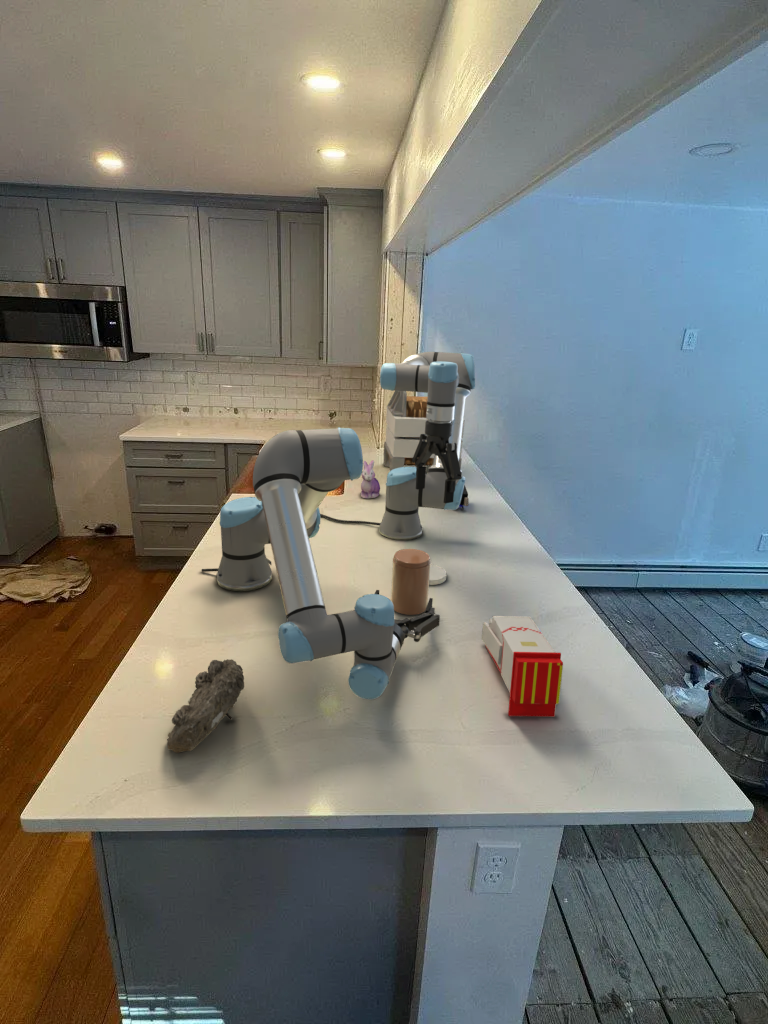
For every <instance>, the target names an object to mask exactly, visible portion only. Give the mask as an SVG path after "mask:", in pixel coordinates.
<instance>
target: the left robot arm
mask: <svg viewBox="0 0 768 1024" xmlns="http://www.w3.org/2000/svg"><path fill="white" fill-rule="evenodd" d="M363 457H364V455H363V449H362V445H361V440H360V438H359V436H358V434H357V432H356V431H355V430H354V429H353V428H349V427H339V426H338V427H337V428H318V429H317V428H316V429H315V428H313V429H297V430H296V429H289V430H284V431H281V432H279V433H277V434H275V435H273V436H272V437H271V438H270V439H268V441H266V443H265V444H264V445H263V446H262V448H261V449H260V451H259V453H258V454H257V457H256V459H255V463H254V466H253V472H252V487H253V492H254V496H245V497H244V496H243V497H239V498H235V499H232V500H229V501H228V502H226V503H225V504H223V506H222V507H221V508H220V510H219V511H220V512H219V526H220V538H221V559H220V562H219V565H218V568H215V567H214V568H202V569H201V572H203V573H206V572H207V573H208V572H216V583H217V584H218V586H219V587H221V588H222V589H224V590H227V591H232V592H250V591H256V590H258V589H259V590H260V589H261V588H264V587H266V586H267V585H269V584H270V583H271V581H272V579H273V573H272V572H273V571H272V568H271V566H272V561H271V560H270V559H269V558H267V555H266V553H265V552H266V550H265V549H266V548H265V546H266V545H270V547H271V551H272V556H273V561H274V566H275V571H276V575H277V580H278V584H279V589H280V594H281V598H282V603H283V608H284V612H285V618H286V622H284V623H281V624H280V625H279V627H278V631H277V637H278V645H279V651H280V653H281V657H282V658H283V660H284V661H285V662H286V663H288V664H297V663H304V662H313V661H314V660H318V659H323V658H328V657H331V656H336V655H340V654H346V653H350V652H353V653H354V654H353V666H352V667H351V669H350V670H349V675H348V680H347V681H348V682H347V683H348V686H349V689H350V691H351V692H352V693H353V694H354V695H355V696H357V697H358V698H360V699H363V700H375V699H378V698H379V697H381V696H382V695H383V693H384V692H385V690H386V688H387V687H388V685H389V683H390V678H391V675H392V673H393V671H394V668H395V665H396V662H397V660H398V657H399V655H400V652H401V650H402V647H403V645H404V642H405V640H406V639H407V638H413V641H414V642H415V643H418V642H420V640H421V638H422V637H424V636H425V635H427V634H428V633H430V632H431V631H433V630H435V629H436V628H437V627H439V626H440V620H441V615H440V614H437V613H436V614H435V612H436V611H435V610H436V608H435V607H433V600H434V599H433V598H432V597H429V598H428V604H427V607H426V610H425V611H424V613H421V614H418V615H416V616H414V617H410V618H409V617H405V618H402V619H398V618H395V611H394V605H393V603H392V601H391V598H389V597H387V596H386V595H383V594H380V589H376V590H375V592H374V593H368V594H364V595H362V596H360V597H359V598H357V600H356V601H355V605H354V609H353V610H347V611H342V612H337V613H331V614H328V612H327V609H326V603H325V600H324V596H323V592H322V587H321V583H320V578H319V575H318V571H317V567H316V563H315V558H314V554H313V550H312V546H311V541H310V539H312V538H314V537H316V536H317V534H318V533H319V530H320V525H321V516H320V514H321V512H320V508H319V506H320V505H321V504H322V502H323V501H324V499H325V498H326V497H327V495H328V494H329V493H330V492H333V491H335V490H337V489H338V488H340V487H341V485H342V484H343V483H344V482H345V481H349V480H350V481H354V480H359V478H361V477H362V472H363V470H364V464H363V463H364V458H363ZM251 497H252V498H251Z"/></svg>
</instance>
